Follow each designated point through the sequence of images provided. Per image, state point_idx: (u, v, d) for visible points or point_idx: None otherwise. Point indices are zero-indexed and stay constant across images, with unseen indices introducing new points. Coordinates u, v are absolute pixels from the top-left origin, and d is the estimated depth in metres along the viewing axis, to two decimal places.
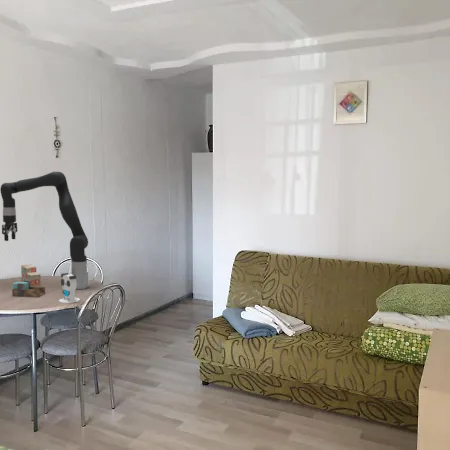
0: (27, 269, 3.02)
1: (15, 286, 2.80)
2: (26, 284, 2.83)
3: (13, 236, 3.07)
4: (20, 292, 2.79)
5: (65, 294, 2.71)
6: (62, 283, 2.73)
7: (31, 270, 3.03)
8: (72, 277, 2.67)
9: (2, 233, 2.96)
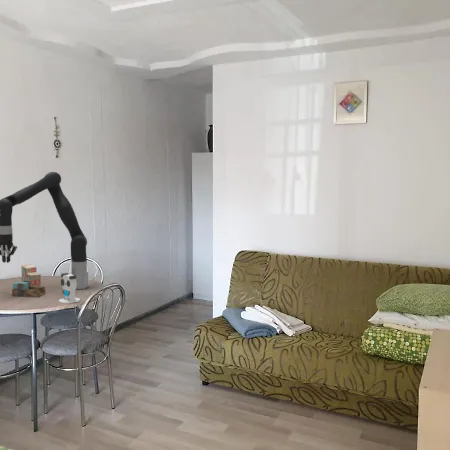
0: (27, 269, 3.01)
1: (15, 286, 2.80)
2: (26, 284, 2.83)
3: (5, 259, 2.82)
4: (20, 292, 2.79)
5: (65, 294, 2.71)
6: (62, 283, 2.73)
7: (31, 270, 3.03)
8: (72, 277, 2.67)
9: (11, 254, 2.80)
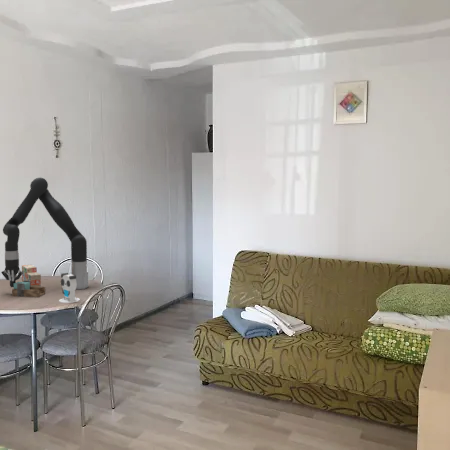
0: (27, 269, 3.01)
1: (16, 286, 2.80)
2: (27, 284, 2.82)
3: None
4: (20, 292, 2.79)
5: (65, 294, 2.71)
6: (62, 283, 2.73)
7: (31, 270, 3.03)
8: (72, 277, 2.67)
9: (16, 279, 2.82)
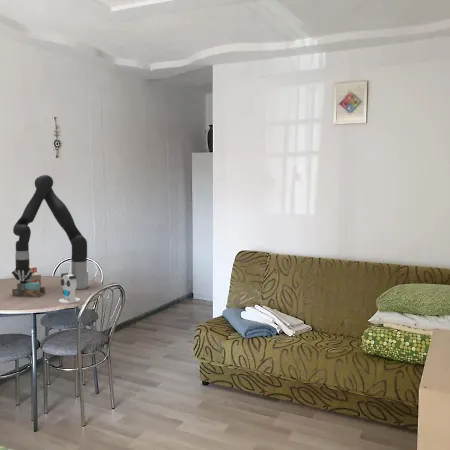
0: None
1: (27, 286, 2.80)
2: (37, 284, 2.82)
3: None
4: (20, 292, 2.79)
5: (65, 294, 2.71)
6: (62, 283, 2.73)
7: (32, 270, 3.03)
8: (72, 277, 2.67)
9: (27, 279, 2.81)
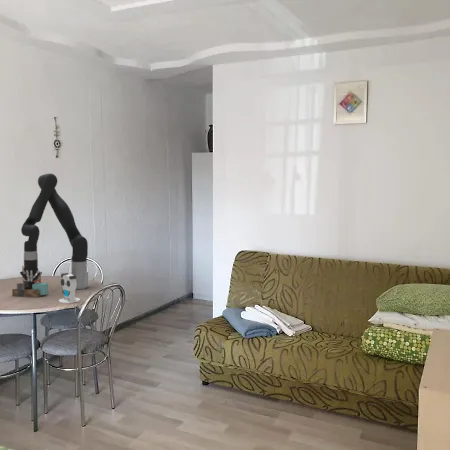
0: None
1: (35, 287, 2.79)
2: (46, 285, 2.82)
3: None
4: (20, 292, 2.79)
5: (65, 294, 2.71)
6: (62, 283, 2.73)
7: None
8: (72, 277, 2.67)
9: (35, 279, 2.81)
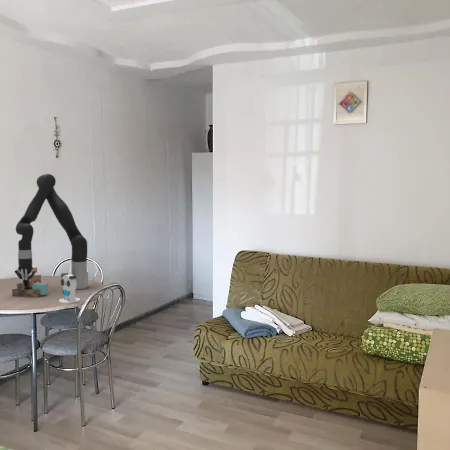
0: None
1: (35, 287, 2.79)
2: (46, 285, 2.82)
3: None
4: (20, 292, 2.79)
5: (65, 294, 2.71)
6: (62, 283, 2.73)
7: None
8: (72, 277, 2.67)
9: (30, 278, 2.81)
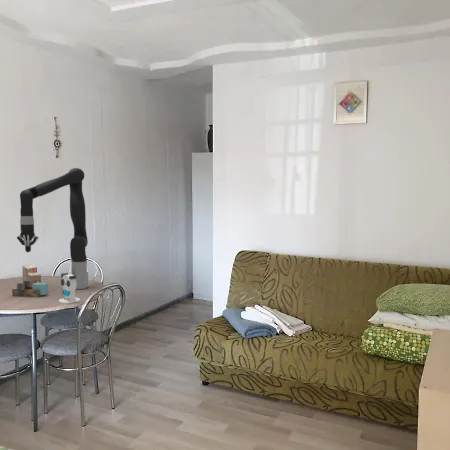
0: (28, 269, 3.01)
1: (35, 287, 2.79)
2: (46, 285, 2.82)
3: None
4: (20, 292, 2.79)
5: (65, 294, 2.71)
6: (62, 283, 2.73)
7: (32, 270, 3.02)
8: (72, 277, 2.67)
9: (32, 244, 2.87)
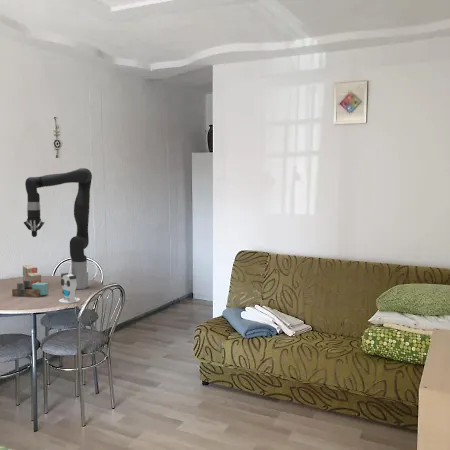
0: (28, 269, 3.00)
1: (35, 287, 2.79)
2: (46, 285, 2.82)
3: None
4: (20, 292, 2.79)
5: (65, 294, 2.71)
6: (62, 283, 2.73)
7: (32, 270, 3.02)
8: (72, 277, 2.67)
9: (38, 229, 2.98)
